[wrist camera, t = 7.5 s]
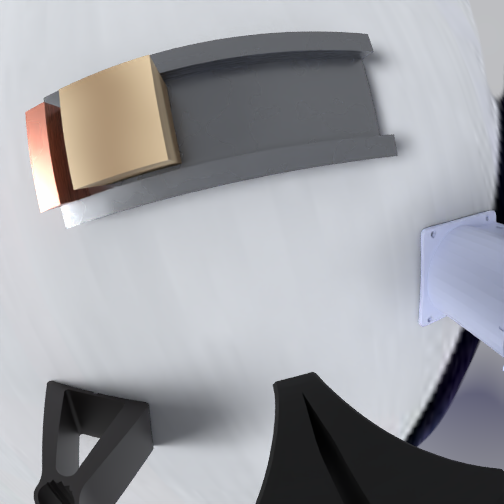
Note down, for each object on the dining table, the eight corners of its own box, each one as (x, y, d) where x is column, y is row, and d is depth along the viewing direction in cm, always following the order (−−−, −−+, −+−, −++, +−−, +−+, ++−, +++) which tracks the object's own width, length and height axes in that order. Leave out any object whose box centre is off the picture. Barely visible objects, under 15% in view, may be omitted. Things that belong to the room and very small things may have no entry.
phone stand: (64, 425, 19) (27, 522, 8) (48, 379, 18) (-10, 486, 6) (153, 445, 21) (142, 559, 9) (149, 402, 19) (127, 540, 8)
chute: (349, 48, 14) (384, 21, 10) (375, 156, 16) (419, 155, 12) (63, 105, 13) (24, 91, 9) (85, 220, 15) (47, 237, 11)
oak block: (166, 85, 13) (148, 54, 9) (181, 163, 14) (168, 160, 10) (97, 108, 13) (58, 89, 8) (110, 184, 14) (73, 189, 10)
